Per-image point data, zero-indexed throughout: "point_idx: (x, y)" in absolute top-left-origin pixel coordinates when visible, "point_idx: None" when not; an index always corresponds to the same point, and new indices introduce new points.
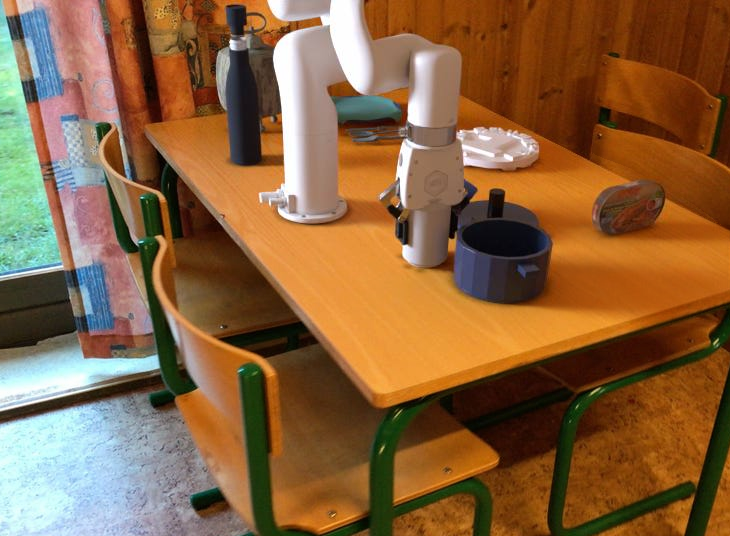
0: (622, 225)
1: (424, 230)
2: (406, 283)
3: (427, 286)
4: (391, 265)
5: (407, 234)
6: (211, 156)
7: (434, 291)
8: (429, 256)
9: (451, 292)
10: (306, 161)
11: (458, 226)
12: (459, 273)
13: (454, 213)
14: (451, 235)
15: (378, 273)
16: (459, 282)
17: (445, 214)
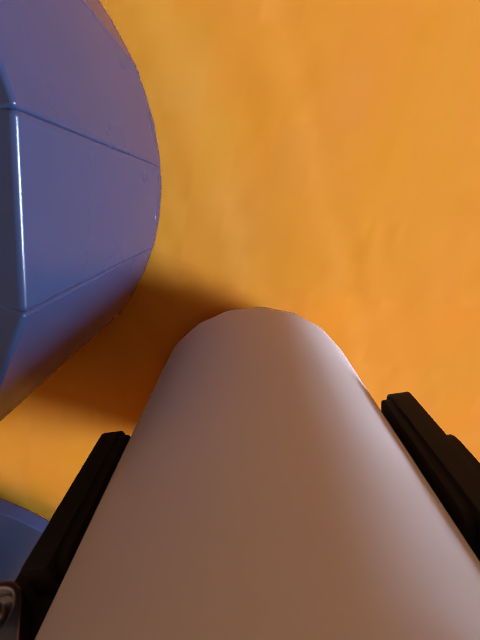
0: None
1: (332, 420)
2: (388, 187)
3: (297, 144)
4: (398, 355)
5: (416, 439)
6: None
7: (275, 82)
8: (260, 323)
9: (191, 59)
10: None
11: None
12: (120, 75)
13: (20, 612)
14: (115, 447)
15: (477, 295)
16: (136, 82)
17: (94, 586)
